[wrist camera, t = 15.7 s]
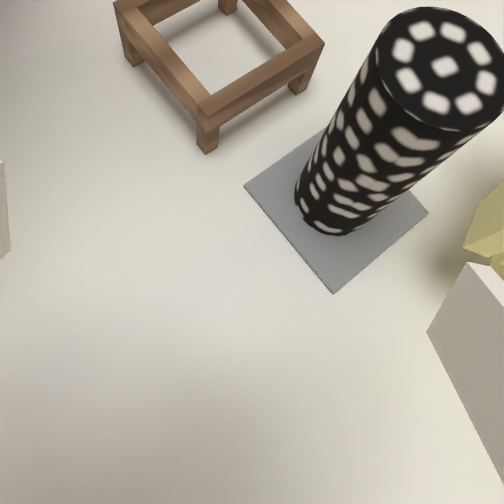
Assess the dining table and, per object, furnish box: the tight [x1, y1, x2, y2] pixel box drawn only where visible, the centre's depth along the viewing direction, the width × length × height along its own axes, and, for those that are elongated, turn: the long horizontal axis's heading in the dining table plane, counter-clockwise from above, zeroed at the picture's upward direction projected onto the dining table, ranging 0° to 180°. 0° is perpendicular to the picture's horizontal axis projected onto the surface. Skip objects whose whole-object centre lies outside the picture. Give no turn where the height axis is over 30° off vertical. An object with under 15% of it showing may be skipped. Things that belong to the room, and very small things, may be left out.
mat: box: [244, 127, 429, 294], centre depth 43 cm, size 14×14×1 cm
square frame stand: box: [113, 0, 325, 155], centre depth 42 cm, size 14×14×7 cm
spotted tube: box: [294, 7, 504, 236], centre depth 34 cm, size 8×8×20 cm
